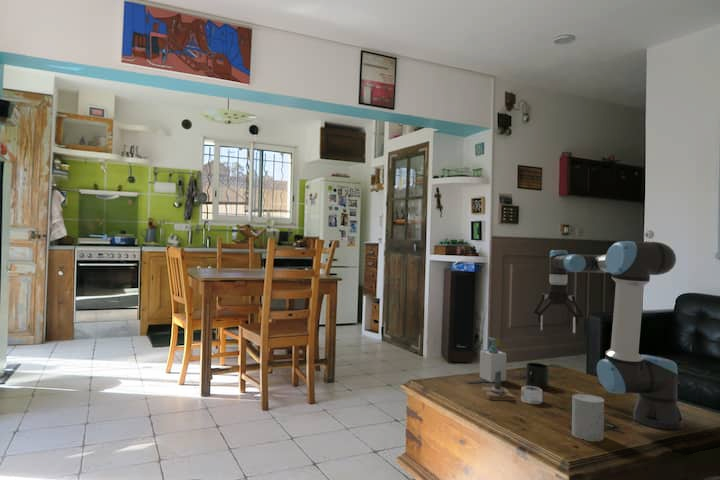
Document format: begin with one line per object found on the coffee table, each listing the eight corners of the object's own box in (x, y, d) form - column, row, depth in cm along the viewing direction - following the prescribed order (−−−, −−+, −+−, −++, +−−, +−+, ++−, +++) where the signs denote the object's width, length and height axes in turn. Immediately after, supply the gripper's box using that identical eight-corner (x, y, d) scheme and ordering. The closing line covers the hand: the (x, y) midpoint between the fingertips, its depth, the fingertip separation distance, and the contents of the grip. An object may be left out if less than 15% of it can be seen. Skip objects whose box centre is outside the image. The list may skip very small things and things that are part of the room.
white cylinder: (594, 430, 158) (594, 393, 158) (610, 441, 148) (610, 402, 149) (566, 429, 158) (566, 393, 158) (580, 441, 148) (581, 402, 148)
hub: (544, 404, 184) (544, 391, 184) (525, 403, 184) (525, 390, 185) (537, 398, 192) (537, 386, 192) (519, 397, 192) (519, 385, 192)
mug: (519, 385, 210) (519, 365, 210) (531, 381, 218) (532, 361, 219) (539, 390, 203) (540, 369, 204) (551, 385, 212) (552, 365, 212)
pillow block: (514, 400, 188) (514, 375, 188) (489, 399, 188) (489, 374, 189) (505, 391, 200) (505, 368, 200) (481, 390, 200) (482, 367, 201)
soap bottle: (494, 376, 226) (495, 336, 226) (506, 380, 218) (506, 339, 218) (479, 377, 223) (480, 337, 223) (490, 382, 214) (491, 340, 215)
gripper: (588, 284, 211) (587, 332, 210) (529, 282, 220) (528, 327, 219) (589, 285, 204) (589, 334, 203) (528, 283, 213) (528, 329, 212)
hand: (557, 331), depth 211 cm, fingers open, 13 cm apart
